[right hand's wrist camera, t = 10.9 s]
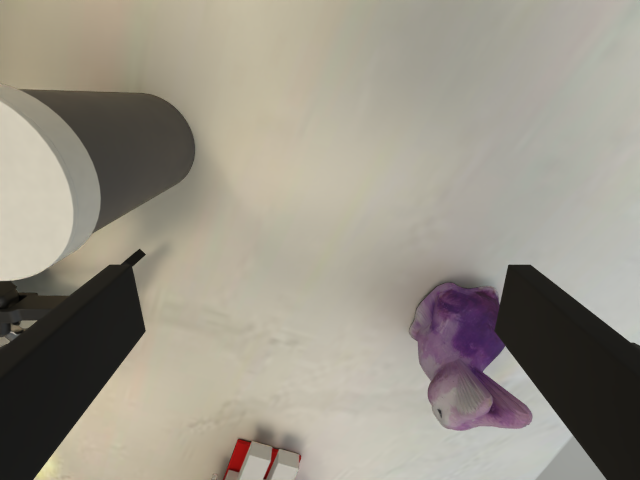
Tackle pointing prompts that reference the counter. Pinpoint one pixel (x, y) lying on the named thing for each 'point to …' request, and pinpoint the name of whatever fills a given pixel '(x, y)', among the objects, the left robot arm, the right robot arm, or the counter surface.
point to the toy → (261, 463)
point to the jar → (126, 144)
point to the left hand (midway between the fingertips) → (72, 200)
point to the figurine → (464, 359)
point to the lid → (41, 187)
